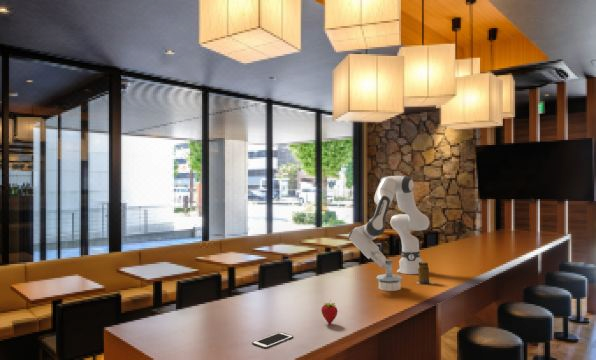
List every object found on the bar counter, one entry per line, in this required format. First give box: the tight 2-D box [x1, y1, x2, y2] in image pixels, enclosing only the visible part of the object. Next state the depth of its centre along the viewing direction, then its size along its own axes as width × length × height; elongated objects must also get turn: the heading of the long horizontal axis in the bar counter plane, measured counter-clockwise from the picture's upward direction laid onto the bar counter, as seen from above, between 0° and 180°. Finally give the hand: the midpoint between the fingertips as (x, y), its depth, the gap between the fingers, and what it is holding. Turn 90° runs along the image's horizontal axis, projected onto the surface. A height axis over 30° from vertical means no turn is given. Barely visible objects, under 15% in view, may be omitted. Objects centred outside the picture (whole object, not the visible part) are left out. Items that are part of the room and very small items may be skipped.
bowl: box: [377, 280, 402, 292], centre depth 224 cm, size 12×12×4 cm
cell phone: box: [251, 331, 294, 350], centre depth 147 cm, size 8×15×1 cm, turn 137°
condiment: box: [416, 261, 435, 286], centre depth 234 cm, size 7×8×12 cm
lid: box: [376, 259, 403, 281], centre depth 224 cm, size 14×14×10 cm
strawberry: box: [320, 299, 338, 325], centre depth 165 cm, size 6×8×10 cm
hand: (390, 268), depth 224 cm, fingers closed on lid, 3 cm apart
